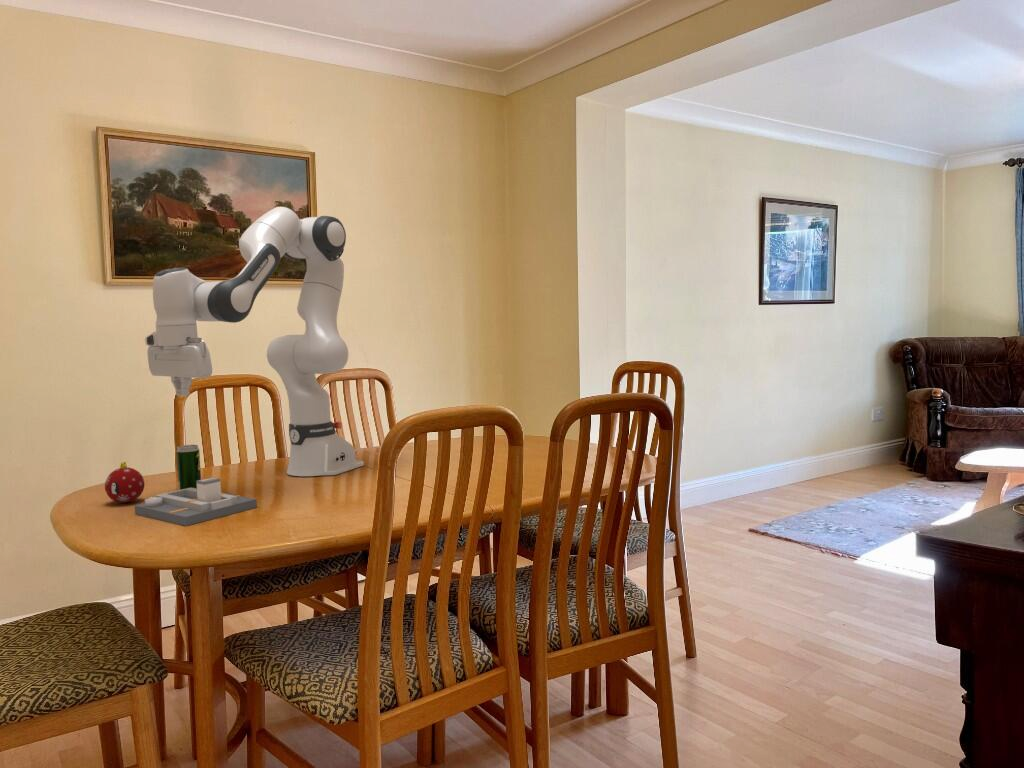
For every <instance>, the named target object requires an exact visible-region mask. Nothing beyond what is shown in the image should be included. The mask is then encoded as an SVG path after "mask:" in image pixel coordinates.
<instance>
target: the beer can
mask: <svg viewBox="0 0 1024 768" xmlns="http://www.w3.org/2000/svg"><path fill="white" fill-rule="evenodd" d="M200 455H201V453H200V448H199V445H198V444H184V445H180V446H177V447H176V465H177V477H178V479H177V481H178V490H182V489H186V488H196V489H197V482H196V481H198V480H202V474H201V457H200Z"/></svg>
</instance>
